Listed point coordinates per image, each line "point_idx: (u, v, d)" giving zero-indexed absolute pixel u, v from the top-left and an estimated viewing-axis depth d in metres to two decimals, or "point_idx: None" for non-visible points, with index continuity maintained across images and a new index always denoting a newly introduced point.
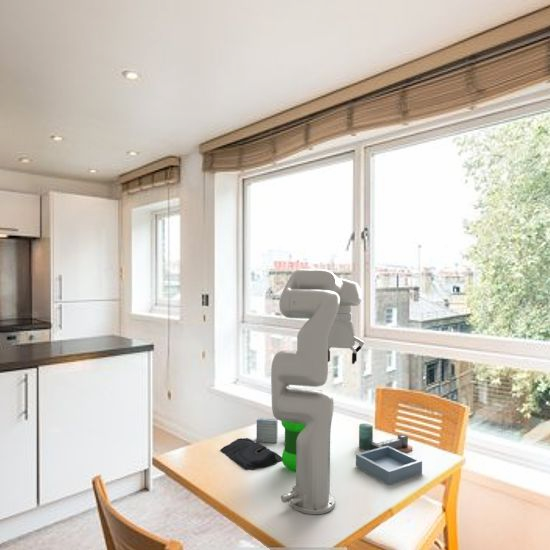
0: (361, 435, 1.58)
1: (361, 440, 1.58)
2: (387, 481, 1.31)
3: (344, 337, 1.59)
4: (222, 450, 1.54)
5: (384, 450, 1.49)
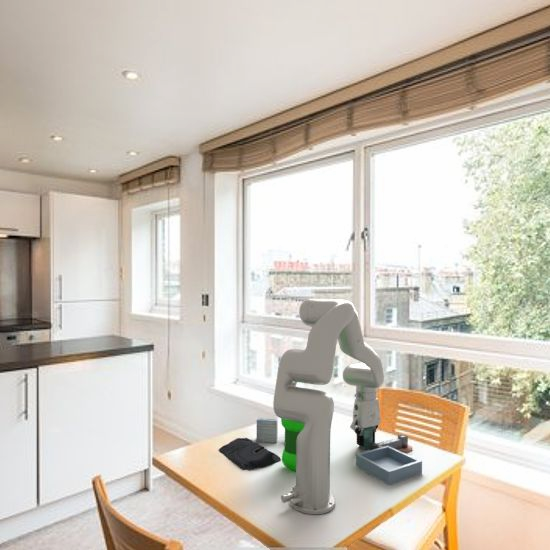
0: None
1: None
2: (387, 481, 1.31)
3: (374, 415, 1.58)
4: (220, 450, 1.54)
5: (384, 450, 1.49)
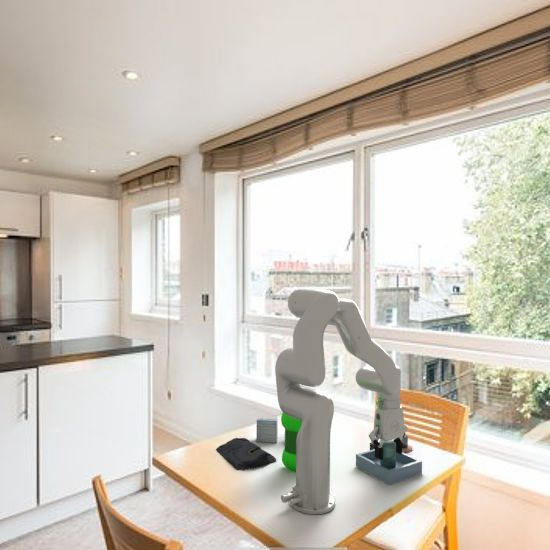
0: (383, 454, 1.39)
1: (383, 460, 1.39)
2: (387, 481, 1.31)
3: (398, 425, 1.39)
4: (217, 449, 1.55)
5: None
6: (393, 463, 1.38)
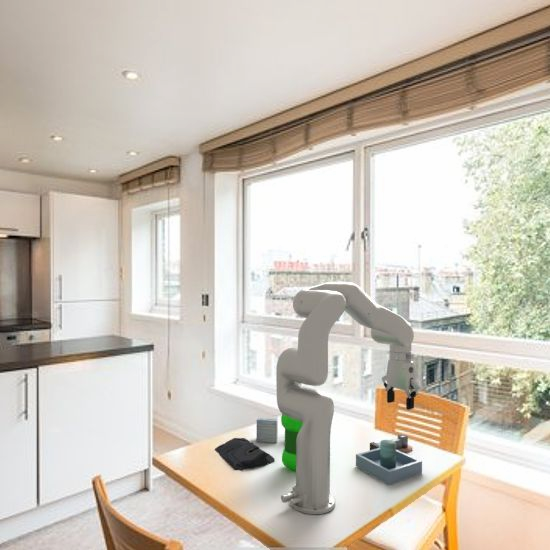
0: (383, 454, 1.39)
1: (383, 460, 1.39)
2: (387, 481, 1.31)
3: None
4: (217, 449, 1.55)
5: None
6: (393, 463, 1.38)
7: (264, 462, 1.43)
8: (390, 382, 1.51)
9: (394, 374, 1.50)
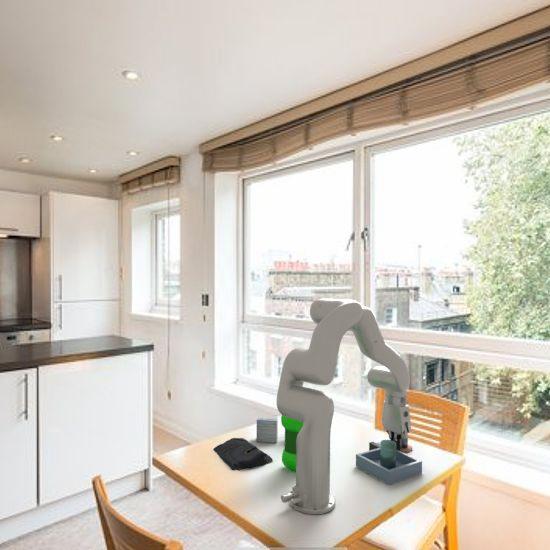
0: (383, 453, 1.39)
1: (383, 460, 1.39)
2: (387, 481, 1.31)
3: None
4: (215, 449, 1.55)
5: None
6: (393, 463, 1.38)
7: (262, 462, 1.43)
8: (385, 424, 1.53)
9: (389, 417, 1.51)
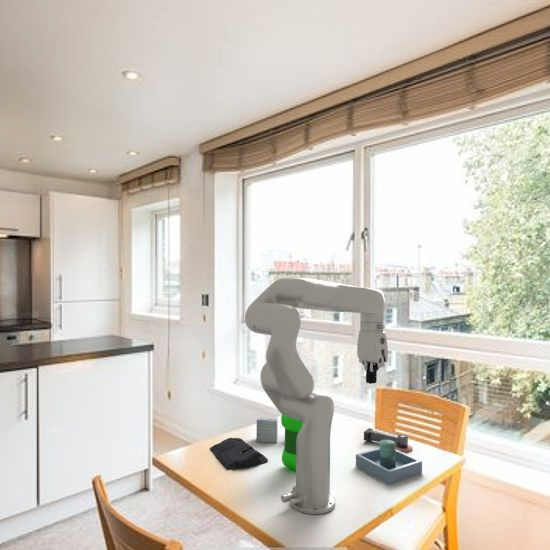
0: (381, 453, 1.39)
1: (382, 459, 1.39)
2: (387, 481, 1.31)
3: None
4: (211, 448, 1.55)
5: None
6: (392, 463, 1.38)
7: (257, 462, 1.42)
8: (361, 355, 1.40)
9: (365, 346, 1.38)
